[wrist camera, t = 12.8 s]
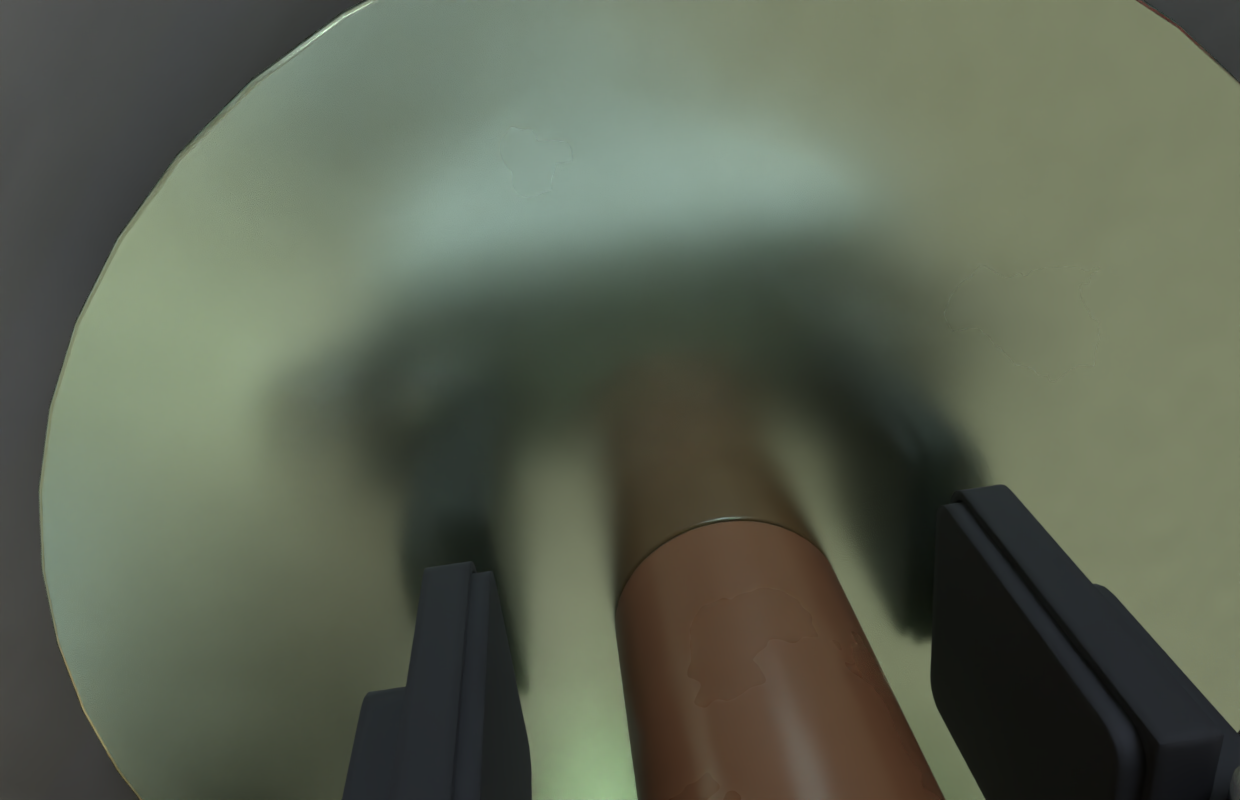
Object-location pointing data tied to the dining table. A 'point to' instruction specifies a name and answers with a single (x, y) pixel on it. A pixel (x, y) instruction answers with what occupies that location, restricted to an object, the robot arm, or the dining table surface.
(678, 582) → the lid
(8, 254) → the dining table surface
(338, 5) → the dining table surface
